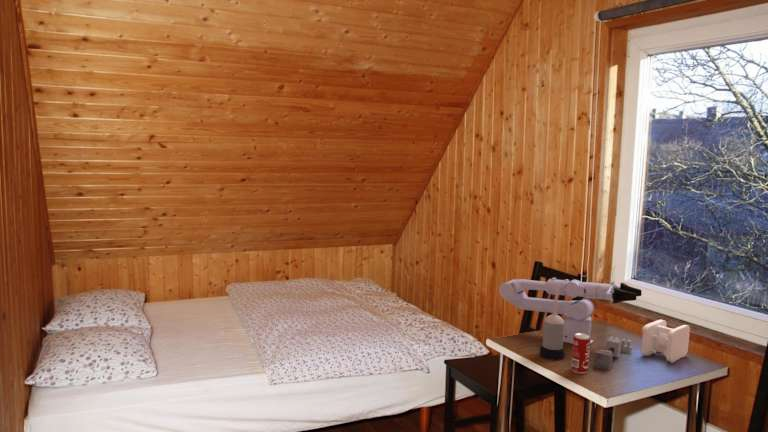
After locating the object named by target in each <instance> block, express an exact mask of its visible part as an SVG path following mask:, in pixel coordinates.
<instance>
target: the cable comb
mask: <svg viewBox="0 0 768 432" xmlns="http://www.w3.org/2000/svg"><path fill="white" fill-rule="evenodd" d="M609 338H613V339H618V340H620V338H619V337H615V338H614V336H613V335H612V336H610V337H609ZM631 342H632V340H631V339H628V340H627V341H626V338H623V339H621V352H622V353H627V354H631V353H632V351H633V346H631ZM621 352H620V353H621Z"/></svg>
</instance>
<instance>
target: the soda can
mask: <svg viewBox="0 0 768 432" xmlns="http://www.w3.org/2000/svg"><path fill="white" fill-rule="evenodd" d="M589 337H590V338H589ZM590 340H591V335H590V336H589V335H587V334H582V333H576V334H575V336H574V338H573V344H572V350H571V351H572V352H571V362H570V363H571V365H570V370H571V372H572V373H573V372H574V373H575V374H581V375H585V374H587V373H588V372H589V363H590V351H591V350H590V348H591V344H590Z"/></svg>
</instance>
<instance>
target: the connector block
mask: <svg viewBox="0 0 768 432" xmlns="http://www.w3.org/2000/svg"><path fill="white" fill-rule="evenodd" d="M593 355H594V357H593V367H594V368H598V369H601V370H604V371H605V370H606V371H610V370H611V369H612V368H613V358H614V356H613V353H610V352H606V351H601V349H596V350H595V351H594V354H593Z"/></svg>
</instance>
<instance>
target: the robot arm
mask: <svg viewBox="0 0 768 432" xmlns="http://www.w3.org/2000/svg"><path fill="white" fill-rule="evenodd" d="M556 285H559V288H558V296H568V297H569V298H571V299H574V298H575V299H576V298H577V297H581V298H582V299H580V300H558V299H557V305H558V306H557V312H556V313H557V315H558V314H559V315H565V318H564V320H563V321H564V336H563V343H568V344H571V345H573V338H574V336H575V334H576V333H582V334H587V335H589V336H590V337H589V338H590V345H591V344H592V343H594V340H593V339H591V332H592V319H593V318H592V317H591V315H592V314H593V313H594V311H595V305H594V303H593V302H592V301H591V300H590V299H596V300H607V301H610V302H613V304H617V303H621V302H627V301H628V302H631V301H637V297H642V292H643V291H642V289H639V288H636V287H633V286H631V285H628V284H626V283H624V282H620V284H619V285H620V286H618V285H616V284H615V281H614V280H612V281H610V283H603V282H602V283H601V282H589V281H587V282H586V281H585V282H584V281H581V280H578V279H576V278H575V279H572V280H569V279H568V278H566V279H557V277H552V278H549V279H548V280H547V281H541V280H534V279H533V280H531V279H525V278H513V279H510V280H508V281H507V282H502V283H501V284H500V286H499V288H498V292H499V294H500V296H501V297H502V299H503V300H504V301H506V302H509V304H512V305H513V306H514V307H516V308H518V309H520V310H523V311H533V312H534V311H535V312H541V313H549V314H550V313H551V314H553V312H554V308H555V302H554V300H555V299H549V298H539V297H532V296H531V297H529V296H528V295H527V294H526V290H527V291H528V290H533V291H545V292H546V293H547V294H549V295H554V296H555V295H556ZM553 287H554V290H553ZM585 298H586V299H585ZM552 300H553V301H552Z"/></svg>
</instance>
